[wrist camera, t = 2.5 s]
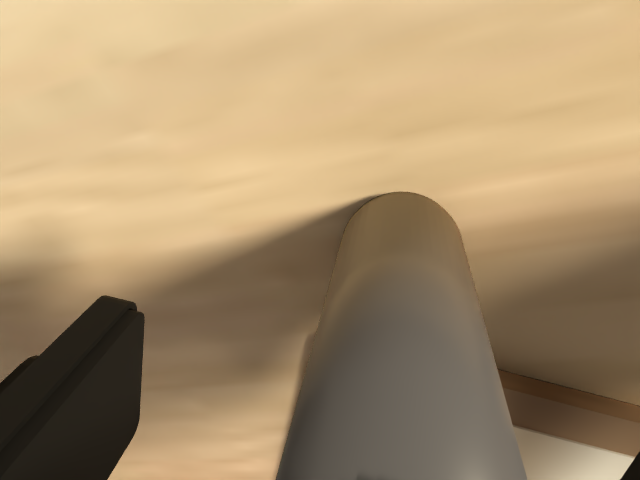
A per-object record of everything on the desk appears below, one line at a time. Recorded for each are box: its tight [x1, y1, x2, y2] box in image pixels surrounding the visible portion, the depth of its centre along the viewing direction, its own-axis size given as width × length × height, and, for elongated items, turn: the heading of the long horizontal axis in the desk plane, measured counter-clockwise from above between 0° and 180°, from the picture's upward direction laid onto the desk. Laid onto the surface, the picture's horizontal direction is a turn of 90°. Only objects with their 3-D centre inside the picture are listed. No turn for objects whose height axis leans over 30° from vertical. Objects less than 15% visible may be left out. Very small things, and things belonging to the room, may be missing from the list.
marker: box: [276, 192, 527, 480], centre depth 11 cm, size 4×4×13 cm
